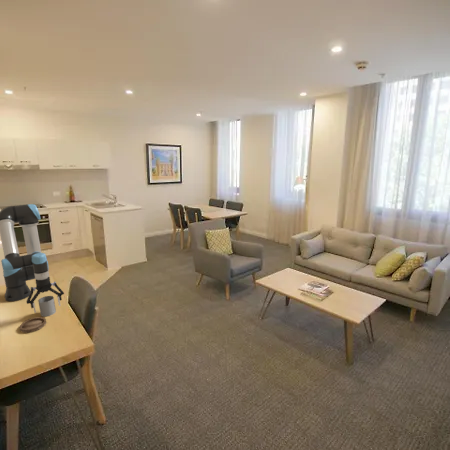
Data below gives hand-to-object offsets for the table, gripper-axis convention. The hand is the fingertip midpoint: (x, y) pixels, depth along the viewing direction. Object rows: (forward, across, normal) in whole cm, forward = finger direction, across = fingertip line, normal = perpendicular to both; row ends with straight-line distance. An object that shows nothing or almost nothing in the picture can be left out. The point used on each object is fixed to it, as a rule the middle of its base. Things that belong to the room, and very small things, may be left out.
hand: (47, 308), depth 184 cm
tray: (+4, -9, -11) cm, 14 cm away
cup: (+4, 0, 0) cm, 4 cm away
